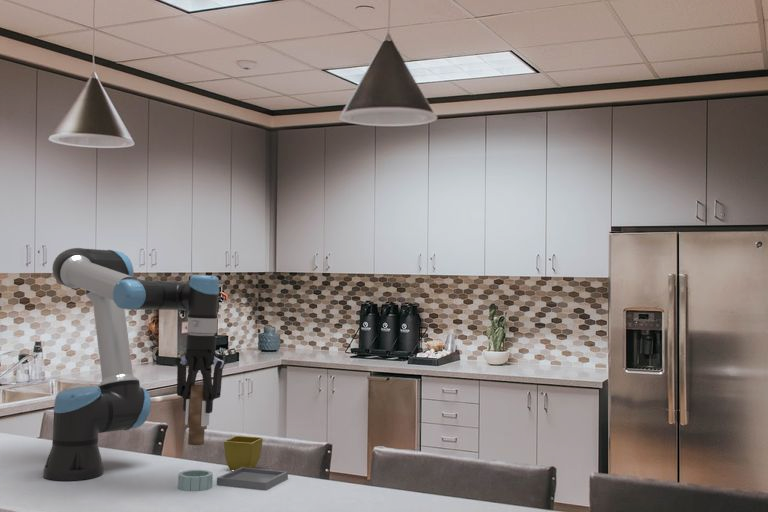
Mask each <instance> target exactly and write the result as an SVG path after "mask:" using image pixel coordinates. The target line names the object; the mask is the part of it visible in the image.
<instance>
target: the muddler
mask: <svg viewBox="0 0 768 512" xmlns="http://www.w3.org/2000/svg"><path fill="white" fill-rule="evenodd" d="M204 399H205V393H204V385H203V384H194V385H191V397H190V415H189V425H188V433H187V434H188V436H187V437H188V438H187V445H190V446H203V445H205V444H204V443H205V430H206V429H205V427H206V426H204V427H203V426H201V416H202V401H204Z"/></svg>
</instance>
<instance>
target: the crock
mask: <svg viewBox="0 0 768 512" xmlns="http://www.w3.org/2000/svg"><path fill="white" fill-rule="evenodd" d="M213 476H214V475H213V472H212V471H210V470H203V469H189V470H184V471H180V472H179V473H178V482H177V489H178V490H180V491H183V492H184V491H185V492H202V491H208V490H211V489H212V488H213Z"/></svg>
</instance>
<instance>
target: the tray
mask: <svg viewBox="0 0 768 512" xmlns="http://www.w3.org/2000/svg"><path fill="white" fill-rule="evenodd" d="M288 479H289V472H288V471H284V470H275V469H274V470H273V469H263V468H256V467H255V468H245V467H241V468H239V469H236V470H234V471H229V472H227V473H225V474H223V475H220V476H218V477H216V486H220V487H229V488H237V489H238V488H239V489H248V490H249V489H250V490H257V491H268V490H270V489H272V488H274V487H275V486H277V485H279V484H281V483H283V482H285V481H287V480H288Z"/></svg>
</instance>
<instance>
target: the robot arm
mask: <svg viewBox="0 0 768 512" xmlns="http://www.w3.org/2000/svg"><path fill="white" fill-rule="evenodd" d="M52 263H53V264H52V275H53V277H54V279H55V280H56V281H57V282H58V283H59V284H60V285H62V286H65V287H66V288H70V289H76V290H77V289H82V290H85V291H86V293H85V294H86V297H87V298H88V299H89V300H91V301H92V305H93V306H92V307H93V314H94V324H95V330H96V331H95V332H96V338H97V339H96V340H97V341H96V342H97V346H98V357H99V366H100V372H101V381H100V382H99V384H97V385H95V386H93V385H87V386H77V387H71V388H67V389H64V390H61V391H60V392H58V393H57V394H56V396H55V398H54V406H53V409H52V411H53V424H52V425H53V427H52V441H51V442H52V444H51V449H50V452H49V454H48V457H47V460H46V463H45V465H44V467H43V477H44V478H45V479H47V480H53V481H80V480H81V481H82V480H89V479H94V478H97V477H100V476H102V475H103V473H104V464H103V461H102V456H101V452H100V448H99V434H100V433H109V432H110V433H111V432H117V431H129V430H132V429H137V428H140V427H142V426H143V425H144V424H145V422H146V421H147V419H148V417H149V415H150V413H151V403H152V401H151V395H150V393H149V392H148V390H147V389H146V388H144V387H141V383H140V379H139V378H138V377H136V376H135V375H134V373H133V365H132V358H131V357H132V356H131V348H130V342H129V333H128V326H127V318H126V310H130V311H135V310H157V311H158V310H163V311H164V310H168V311H173V310H174V311H188V312H187V313H188V314H187V329H186V330H187V333H188V335H186V345H185V347H186V352H185V354H184V356H181V357H176V358H175V363H176V366H177V374H176V375H177V376H176V377H177V378H176V382H177V383H176V395H177V396H179V397H182V398H183V405H182V406H183V407H182V408H183V411H184V412H185V415H184V416H185V418H184V419H185V420H184V425H185V426H189V415H190V397H191V385H196V379H197V375H198V373H199V371H200V374H201V375H202V385H204V393H205V399H204V401H202V416H201V426H203V427H204V426H205V427H206V426H207V427H208V426H209V424H210V414H212V413H213V406H214V405H213V404H214V400H216V399H218V398H221V391H222V382H223V372H224V371H223V369H224V368H225V365H226V360H224V359H220V358H218V357H217V355H216V350H217V349H216V348H217V336H216V335H215V334H217V333H218V331H217V330H218V315H219V314H218V313H219V312H218V311H219V297H220V296H219V295H220V280H219V278H218V276H215V275H202V274H201V275H199V274H198V275H197V274H192V275H190V277H189V282H187V281H174V280H173V281H172V280H171V281H167V280H165V281H164V280H145V279H140V278H137V277H134V276H135V275H134V273H135V272H134V271H135V270H134V266H133V263H132V261H131V259H130V258H129V256H128V255H127V254H125V253H124V252H122V251H116V250H113V249H96V248H95V249H94V248H83V247H74V248H68V249H66V250H64V251H61V252H60V253H59V254H58V255H57V256H56V257H55V259H54V261H53V262H52ZM187 364H188V368H187ZM212 365H213V366H214V369H213V370H212ZM212 371H213V372H212ZM212 373H213V377H212Z"/></svg>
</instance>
